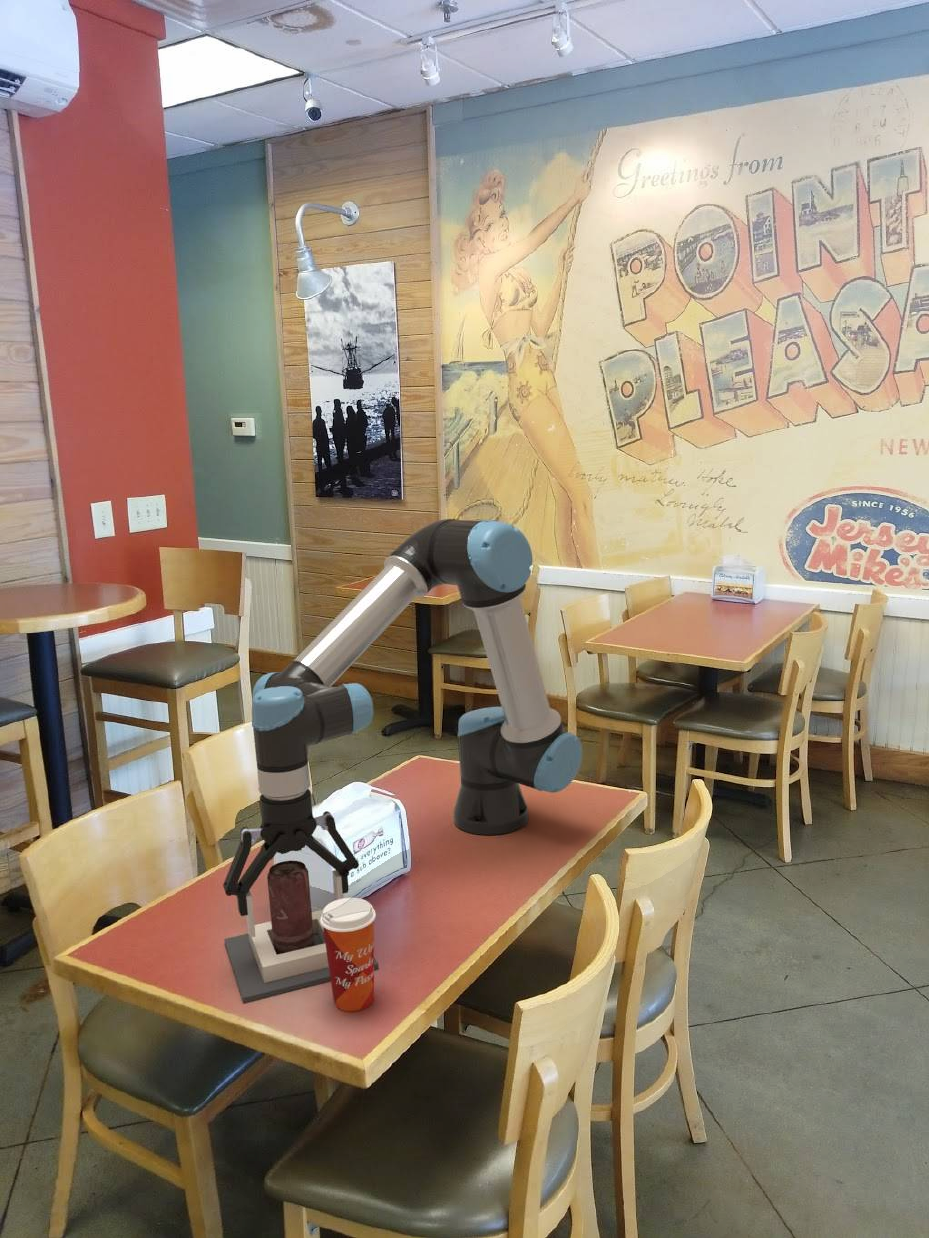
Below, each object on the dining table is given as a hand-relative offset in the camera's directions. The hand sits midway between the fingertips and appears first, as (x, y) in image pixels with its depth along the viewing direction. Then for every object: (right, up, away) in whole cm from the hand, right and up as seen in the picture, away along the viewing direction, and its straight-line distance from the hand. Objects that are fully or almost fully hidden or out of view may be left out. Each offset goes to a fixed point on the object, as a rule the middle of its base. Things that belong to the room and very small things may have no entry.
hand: (296, 922), depth 148 cm
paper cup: (+10, -8, -11) cm, 17 cm away
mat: (0, -5, +1) cm, 6 cm away
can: (0, -5, +1) cm, 5 cm away
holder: (0, -5, +1) cm, 5 cm away
